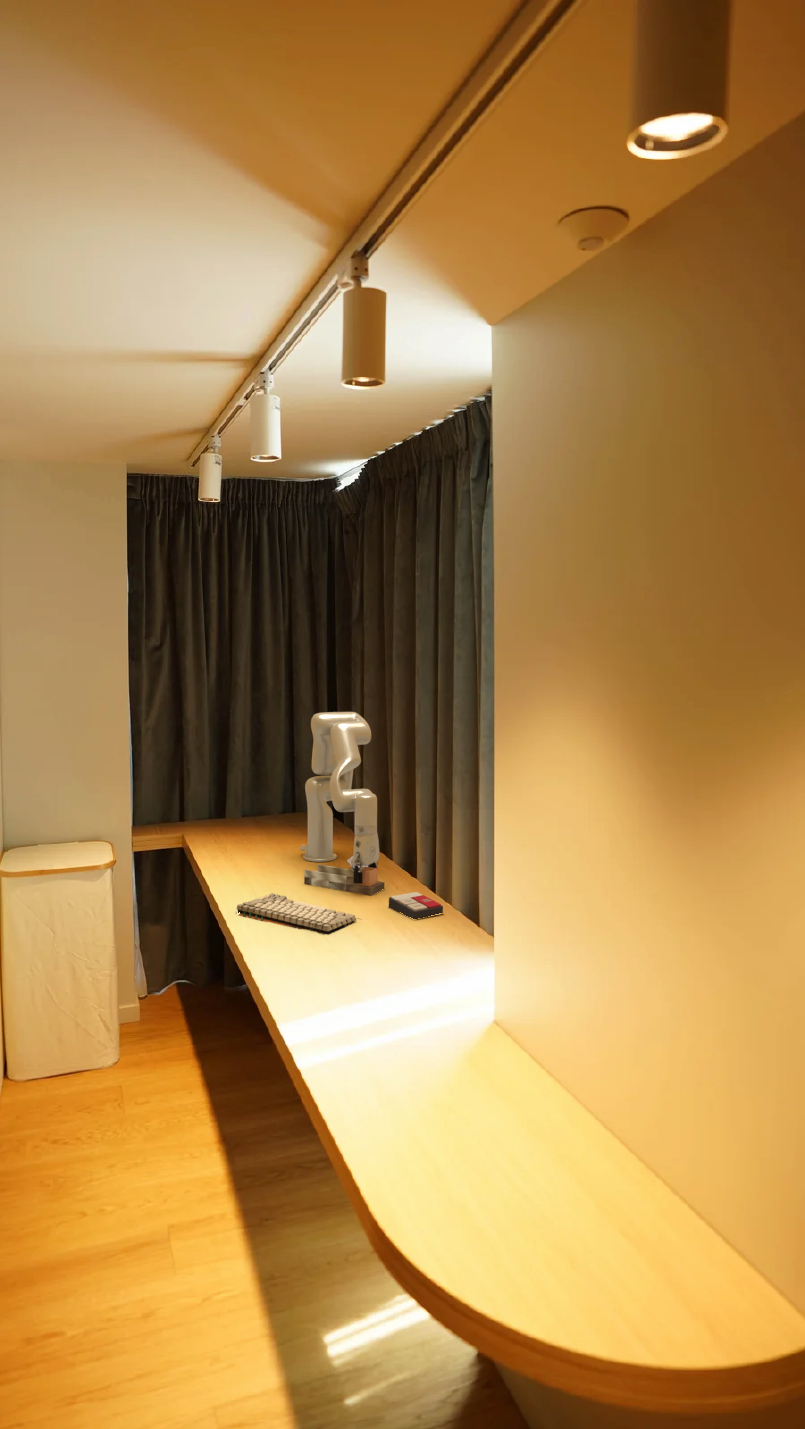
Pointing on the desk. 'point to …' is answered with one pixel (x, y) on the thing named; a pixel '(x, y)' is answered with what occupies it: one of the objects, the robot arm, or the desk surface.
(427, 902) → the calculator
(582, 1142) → the desk surface
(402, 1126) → the desk surface
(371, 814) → the robot arm
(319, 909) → the mechanical keyboard
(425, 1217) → the desk surface
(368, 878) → the block
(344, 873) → the open channel deck
